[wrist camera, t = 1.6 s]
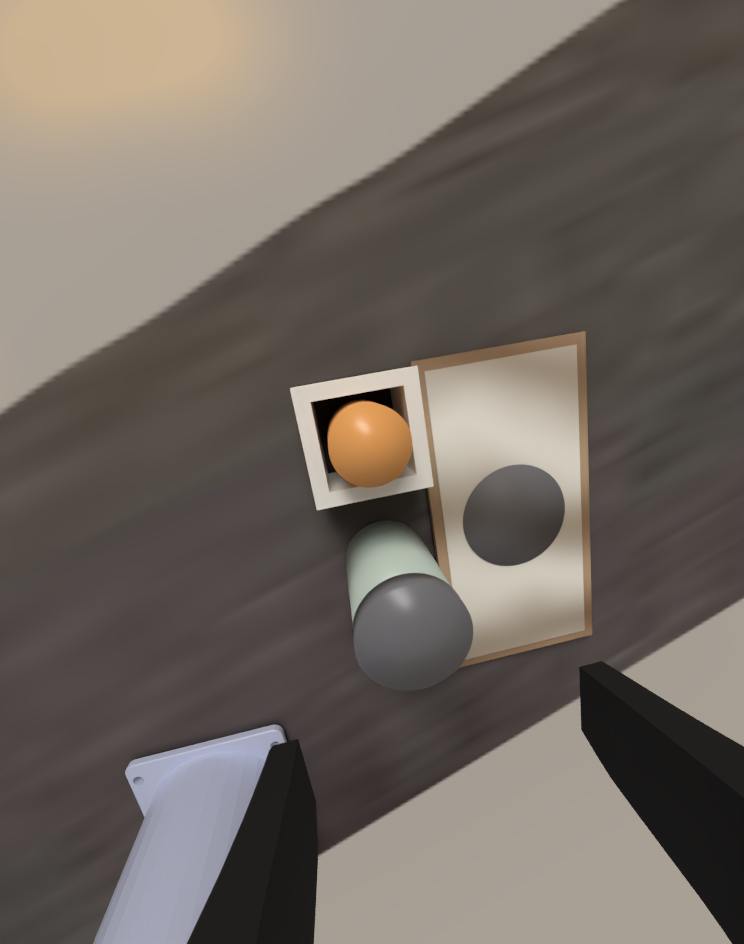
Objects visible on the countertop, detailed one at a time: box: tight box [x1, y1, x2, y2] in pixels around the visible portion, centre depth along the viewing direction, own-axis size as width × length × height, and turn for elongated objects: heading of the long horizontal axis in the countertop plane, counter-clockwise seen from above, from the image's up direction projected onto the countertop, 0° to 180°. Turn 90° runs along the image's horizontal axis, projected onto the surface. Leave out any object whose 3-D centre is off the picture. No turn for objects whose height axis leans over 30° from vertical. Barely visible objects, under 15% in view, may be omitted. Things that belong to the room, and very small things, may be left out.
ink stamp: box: [345, 520, 473, 691], centre depth 15 cm, size 4×4×6 cm
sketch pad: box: [409, 331, 592, 668], centre depth 18 cm, size 16×8×1 cm, turn 10°
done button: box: [327, 400, 412, 488], centre depth 14 cm, size 3×3×3 cm
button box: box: [290, 366, 434, 510], centre depth 15 cm, size 5×5×3 cm
